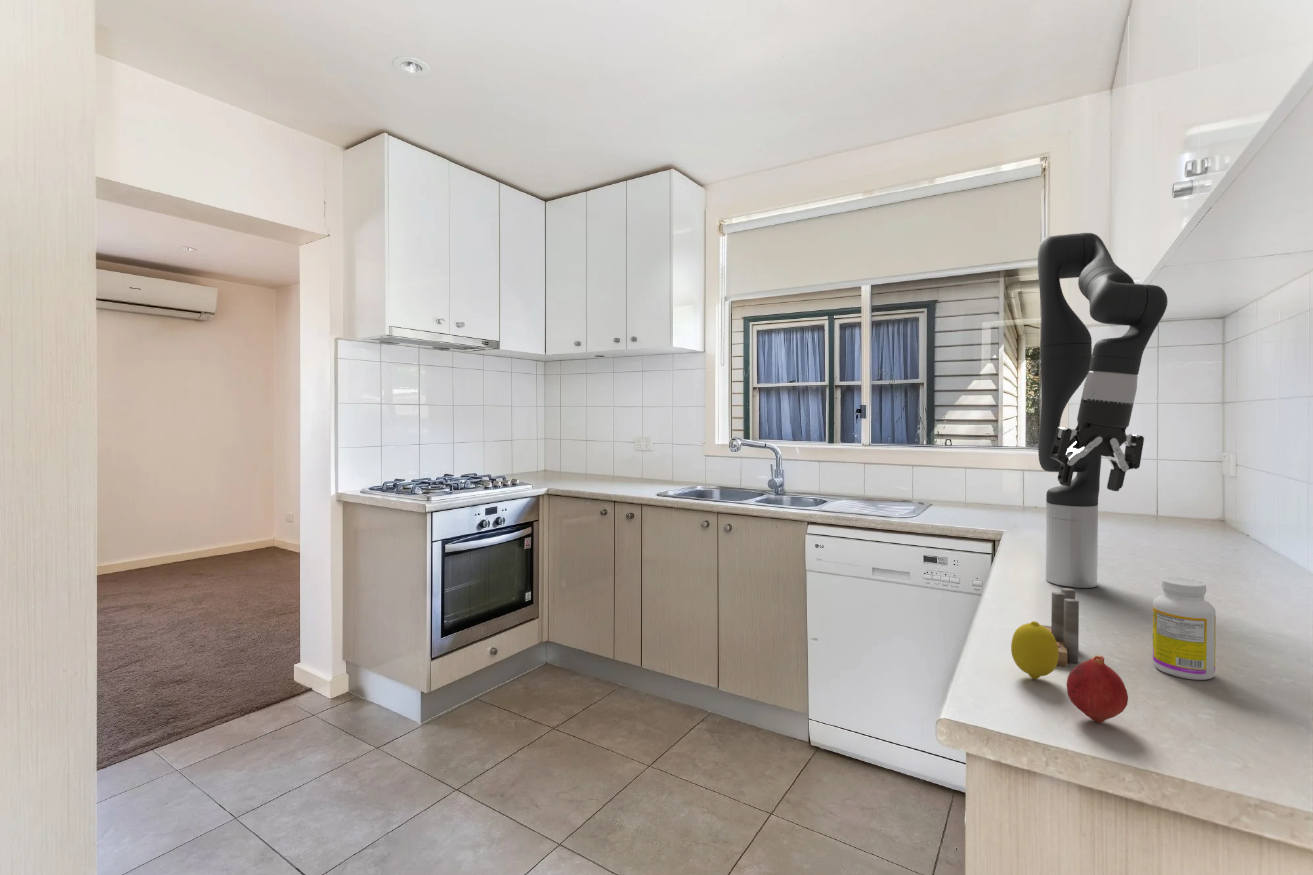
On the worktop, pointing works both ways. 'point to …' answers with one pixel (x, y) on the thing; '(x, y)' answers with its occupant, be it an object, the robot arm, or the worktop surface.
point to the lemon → (1034, 650)
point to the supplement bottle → (1184, 630)
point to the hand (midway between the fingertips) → (1088, 487)
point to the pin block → (1065, 625)
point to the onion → (1097, 690)
